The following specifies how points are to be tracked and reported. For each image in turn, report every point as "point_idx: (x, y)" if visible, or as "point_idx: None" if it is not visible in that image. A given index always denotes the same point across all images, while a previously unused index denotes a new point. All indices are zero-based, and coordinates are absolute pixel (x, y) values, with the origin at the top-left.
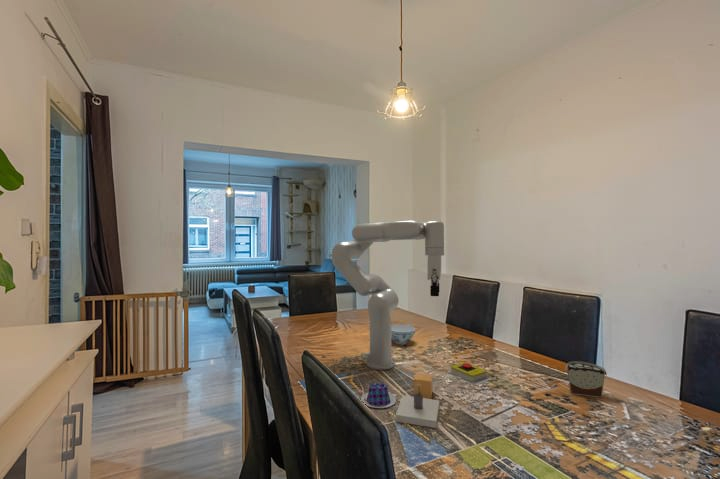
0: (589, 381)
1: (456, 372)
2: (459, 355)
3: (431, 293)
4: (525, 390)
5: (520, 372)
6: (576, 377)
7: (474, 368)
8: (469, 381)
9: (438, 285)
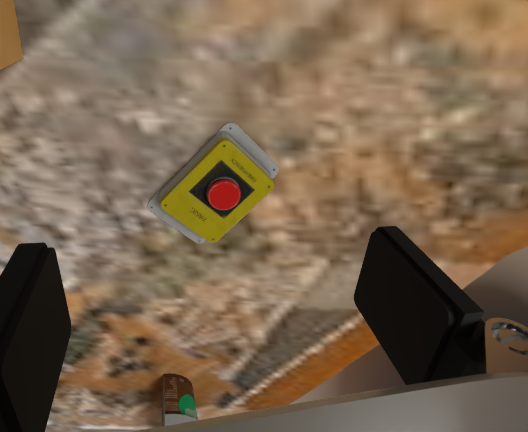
0: (163, 424)
1: (202, 153)
2: (385, 165)
3: (10, 276)
4: (149, 307)
5: (265, 305)
6: (164, 414)
7: (223, 212)
8: (163, 186)
9: (398, 363)
